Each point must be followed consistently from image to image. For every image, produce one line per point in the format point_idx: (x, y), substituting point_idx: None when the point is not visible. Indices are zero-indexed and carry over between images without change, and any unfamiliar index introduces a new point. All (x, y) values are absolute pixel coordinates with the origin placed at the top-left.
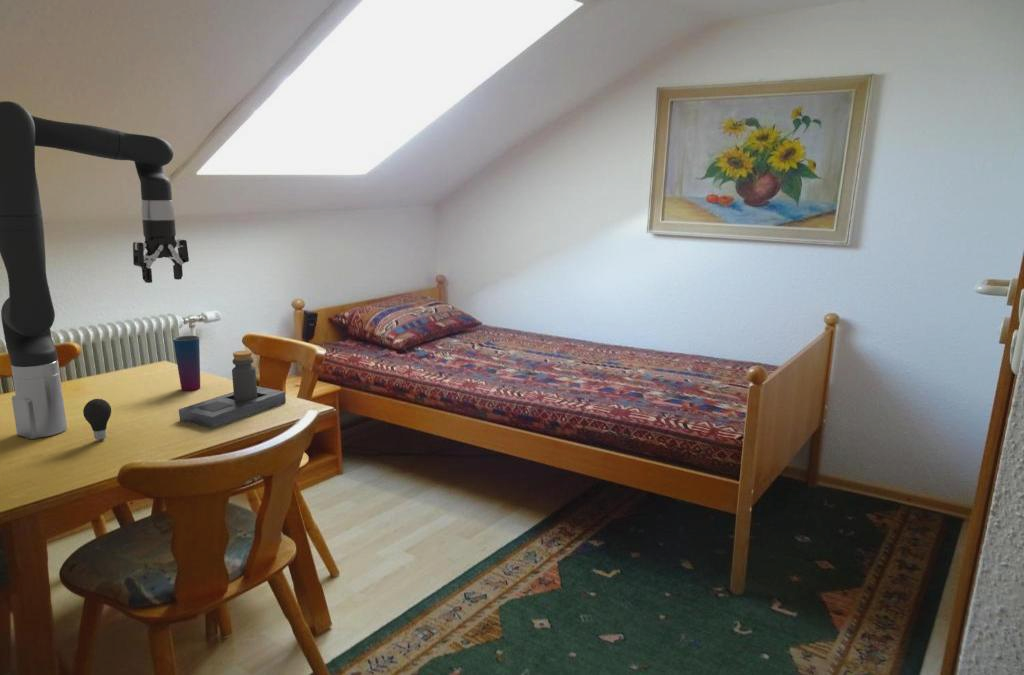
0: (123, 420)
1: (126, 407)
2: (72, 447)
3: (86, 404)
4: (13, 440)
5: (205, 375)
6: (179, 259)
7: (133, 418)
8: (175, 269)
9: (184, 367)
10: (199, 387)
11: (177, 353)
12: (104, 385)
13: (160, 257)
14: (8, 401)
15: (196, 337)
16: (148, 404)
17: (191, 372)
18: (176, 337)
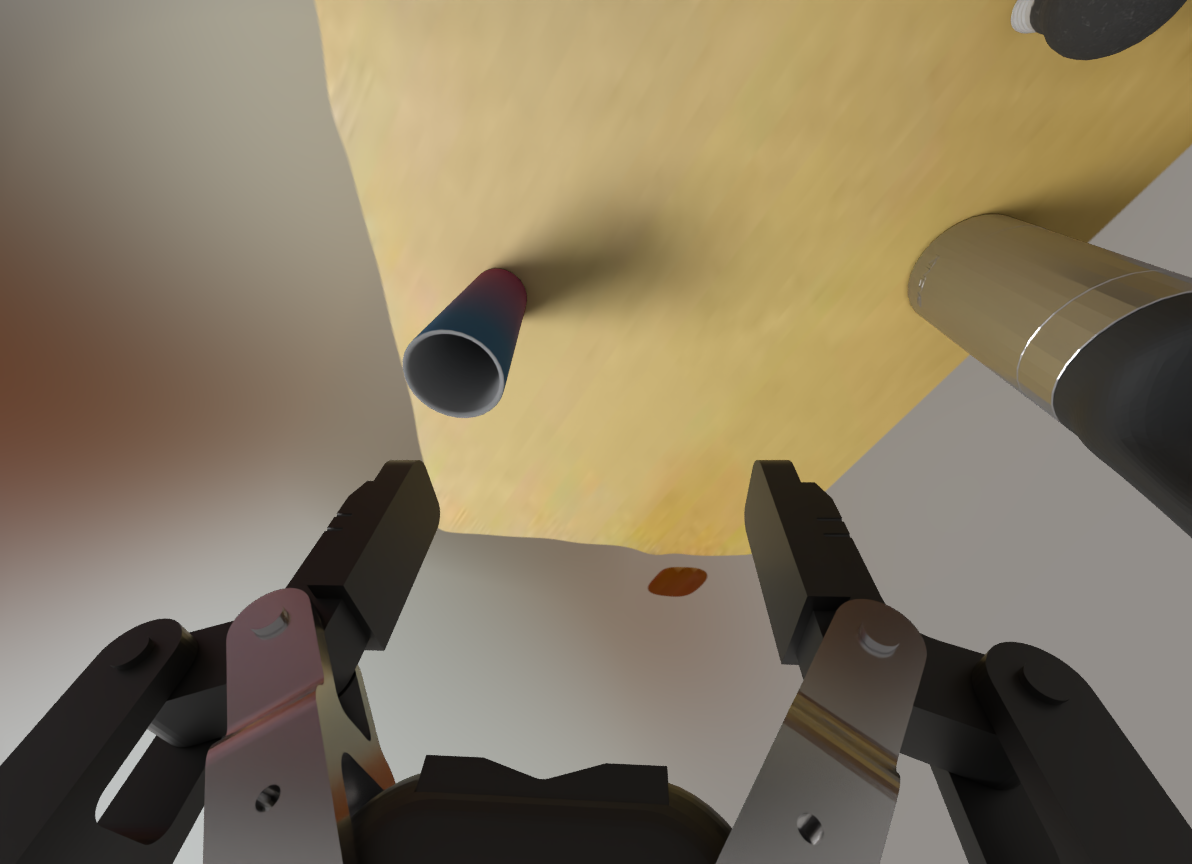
0: (815, 169)
1: (715, 286)
2: None
3: (1184, 2)
4: None
5: None
6: (258, 679)
7: (788, 160)
8: (392, 578)
9: (509, 308)
10: (482, 273)
11: (511, 351)
12: (618, 484)
13: (628, 778)
14: None
15: (410, 369)
16: (666, 258)
17: (495, 288)
18: (476, 414)
